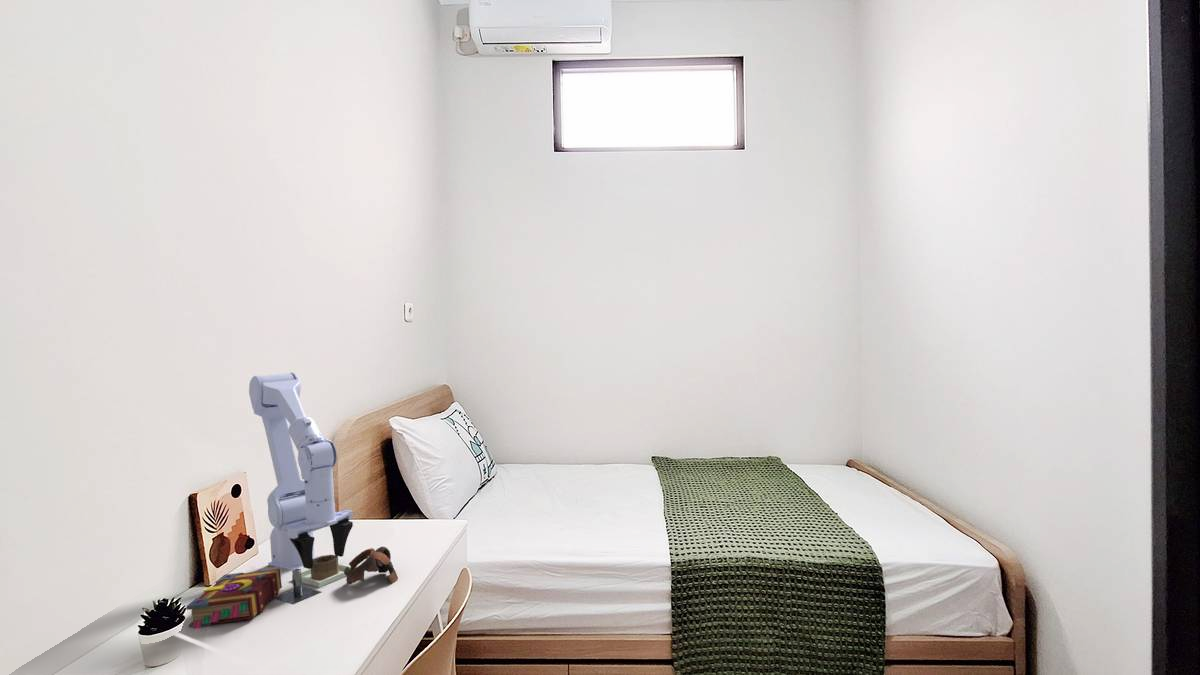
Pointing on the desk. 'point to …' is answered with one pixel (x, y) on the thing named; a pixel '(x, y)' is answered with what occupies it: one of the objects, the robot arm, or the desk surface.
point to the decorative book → (235, 598)
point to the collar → (324, 567)
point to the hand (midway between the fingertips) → (324, 561)
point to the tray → (307, 579)
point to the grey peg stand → (297, 590)
